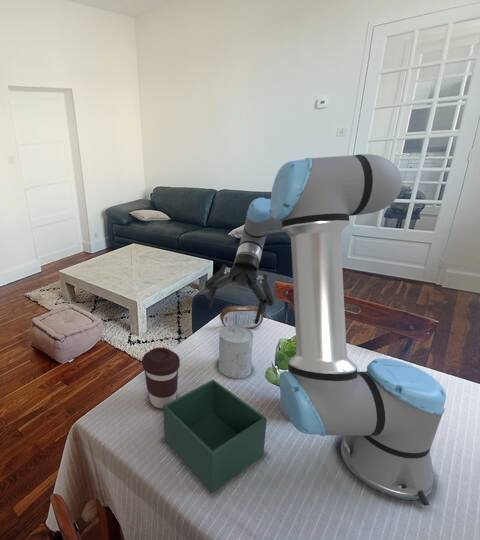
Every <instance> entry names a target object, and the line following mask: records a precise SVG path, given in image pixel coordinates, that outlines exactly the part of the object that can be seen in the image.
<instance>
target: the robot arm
mask: <svg viewBox="0 0 480 540" xmlns="http://www.w3.org/2000/svg"><path fill="white" fill-rule="evenodd" d="M402 187H403V176H402V174H401V171H400V169H399V168H398V166H397V165H396V164H395V163H394V162H392V161H391V160H389V159H388V158H386V157H384V156H380V155H378V154H369V153H361V154H360V153H359V154H354V155H353V154H352V155H337V156H324V157H306V158H304V159H297V160H290V161H287V162H285V163H284V164H282V166H281V167H280V168H279V169H278V171H277V173H276V175H275V178H274V181H273V184H272V188H271V194H270V198H266V197H258V198H255V199H253V200H252V201H251V202H250V204H249V206H248V208H247V212H246V218H245V222H244V226H243V230H242V233H241V238H240V241H239V245H238V247H237V251H236V255H235V259H234V260H233V261H234V262H233V264H232V267H228V266H227V265H226V264H224V263H223V264H222V265H221V267H220V269H219V270H218V271H216V273H214V274H213V275H212V276H211V277H209V278H208V279H207V280H206V281H205V283H204V288H205V289H208V293H207V297H206V298H207V300H209V301H208V305H207V311H211V309H212V307H213V302H214V300H215V296H216V293H217V290H219V289H222V288H223V287H225V286H227V285H229V284H233V283H235V284H237V285H238V284H239V285H241V286H242V285H243V286H245V287H246V286H247V287H248V288H249V289H250V290H251V291H252V292H253V294H254V295H255V297H256V299H257V300H258V301H259V303H258V306H257V307H258V310H257V315H256V319H255V324H257V323H258V321H259V318H260V314H263V315H265V312H266V309H267V306H270V307H272V306H274V303H275V298H274V295H273V292H272V289H271V287H270V285H269V282H268V275H267V274H266V273H265V274H263V275H261V274H260V275H259V274H258V271H259V267H260V262H261V258H262V254H263V249H264V246H265V242H266V238H267V236H268V233H269V230H278V229H280V230H282V231H283V232H284V233H285V234H287V235H288V236H289V237H290V247H291V249H290V250H291V266H292V268H291V269H292V286H293V307H294V308H293V309H294V325H295V344H296V345H295V346H296V353H295V355H294V356H292V357H291V358H290V359H289V360H288V369H289V370H285V371H283V372H281V373H280V374H279V378H278V386H279V392H280V397H281V400H282V401H281V402H282V403H283V407H284V409H285V412H286V414H287V416H288V419H289V421H290V422H291V424H292V425H293V427H294V428H295V429H296V430H297V431H299V432H300V433H302V434H305V435H317V436H318V435H319V436H321V437H327V436H343V437H342V439H341V444H340V455H341V458H342V460H343V462H344V464H345V466H346V467H347V469H349V471H350V472H351V473H352V474H353V475H354V476H355V477H356V478H357V479H358V480H360V481H361V482H362V483H364V484H365V485H366V486H368V487H369V488H371V489H373V490H375V491H377V492H379V493H380V494H383V495H385V496H388V497H391V498H395V499H399V500H406V501H415V500H420V502H421V504H422V505H423V506H425V507H427V506H430V503H429V500H428V498H427V496H428V495H429V494H430V493H431V492H432V490H433V487H434V484H435V471H434V467H433V461H432V458H431V452H430V451H431V449H432V444H433V443H434V440H435V436H436V434H437V431H438V428H439V426H440V423H441V419H442V417H443V414H444V413H445V410H446V409H445V404H446V400H447V393H446V390H445V389H444V388H445V387H443V386H442V384H441V383H440V382H439V381H438V380H437V379H436V378H434V377H433V376H432V375H430V374H429V373H428V372H426V371H424V370H422V369H420V368H418V367H417V366H413V365H412V364H409V363H406V362H403V361H400V360H395V359H390V358H376V359H373V360H372V361H371V362H369V364H367V366H366V371H358V366H357V364H356V363H355V362H353V361H352V360H351V359H349V357H348V351H347V332H346V331H347V329H346V314H345V313H346V312H345V310H346V309H345V294H344V293H345V291H344V275H343V272H344V271H343V257H342V256H343V255H342V254H343V253H342V238H341V237H342V236H341V234H342V232H343V230H345V229H346V228H347V227H348V226H349V225H350V217H351V216H362V215H368V214H373V213H376V212H377V213H378V212H380V211H382V210H384V209H386V208H388V207H389V206H391V205H392V204H393V203H394V202H395V201H396V200H397V198H398V197H399V195H400V193H401V191H402ZM228 273H229V274H228ZM226 274H228V276H226V277H223V276H224V275H226ZM222 277H223V278H222ZM257 281H258V282H259V284H261V288H262V290H261V288H260V287H259V285H258V284H257Z"/></svg>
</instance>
